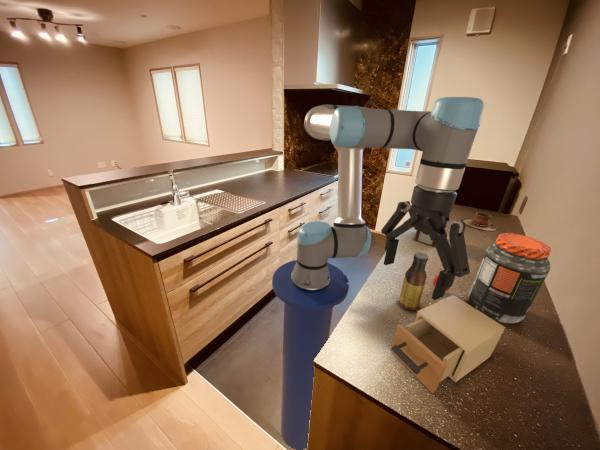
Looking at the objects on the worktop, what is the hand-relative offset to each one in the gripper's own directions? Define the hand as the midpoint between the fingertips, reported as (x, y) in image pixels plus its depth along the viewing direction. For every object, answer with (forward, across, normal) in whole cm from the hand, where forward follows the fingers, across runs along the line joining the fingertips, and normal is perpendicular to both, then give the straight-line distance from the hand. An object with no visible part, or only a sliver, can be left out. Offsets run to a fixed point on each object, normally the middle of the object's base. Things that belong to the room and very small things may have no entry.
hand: (410, 278), depth 56 cm
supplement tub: (+25, -1, -47) cm, 53 cm away
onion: (+25, +12, -37) cm, 46 cm away
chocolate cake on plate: (+24, +46, -121) cm, 132 cm away
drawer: (+24, -6, -6) cm, 25 cm away
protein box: (+24, +45, -72) cm, 88 cm away
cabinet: (+25, -5, -17) cm, 30 cm away
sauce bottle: (+25, +12, -20) cm, 34 cm away
